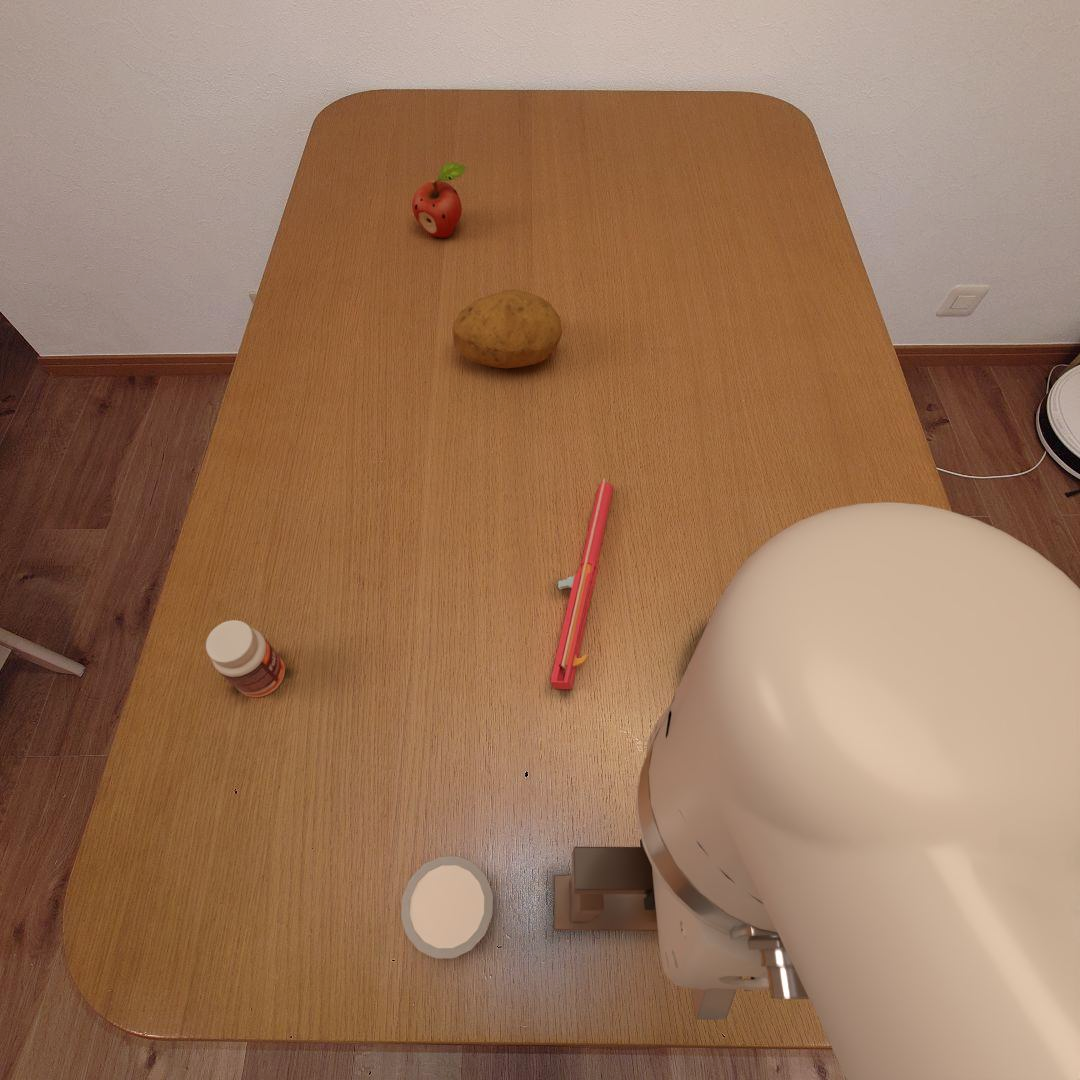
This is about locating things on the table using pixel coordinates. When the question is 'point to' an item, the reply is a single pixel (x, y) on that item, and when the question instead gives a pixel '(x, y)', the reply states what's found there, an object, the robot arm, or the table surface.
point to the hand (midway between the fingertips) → (671, 874)
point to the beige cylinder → (447, 907)
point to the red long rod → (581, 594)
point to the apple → (439, 203)
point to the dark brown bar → (611, 870)
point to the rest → (599, 910)
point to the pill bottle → (245, 658)
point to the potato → (507, 330)
